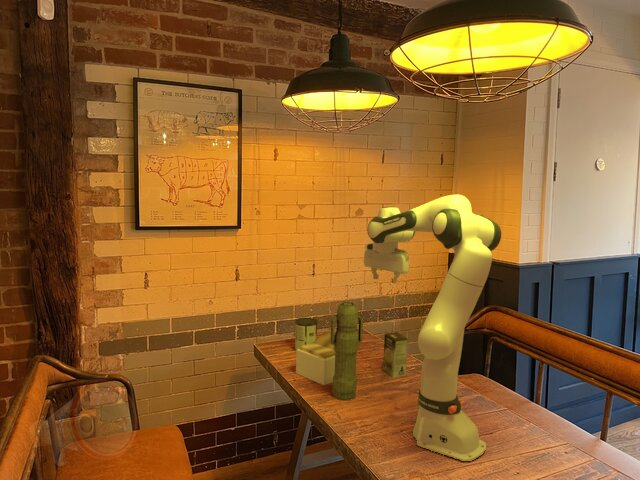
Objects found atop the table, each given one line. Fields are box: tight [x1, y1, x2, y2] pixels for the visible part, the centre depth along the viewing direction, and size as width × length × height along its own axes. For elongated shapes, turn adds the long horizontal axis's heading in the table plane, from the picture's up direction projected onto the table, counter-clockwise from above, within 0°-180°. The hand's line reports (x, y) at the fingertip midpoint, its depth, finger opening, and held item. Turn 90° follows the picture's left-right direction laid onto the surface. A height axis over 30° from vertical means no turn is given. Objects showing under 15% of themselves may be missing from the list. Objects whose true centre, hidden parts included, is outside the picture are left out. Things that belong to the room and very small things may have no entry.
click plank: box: [315, 331, 335, 349], centre depth 203 cm, size 14×7×1 cm, turn 46°
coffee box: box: [382, 331, 409, 379], centre depth 204 cm, size 9×6×16 cm
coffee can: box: [294, 317, 318, 352], centre depth 228 cm, size 10×10×14 cm
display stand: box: [295, 349, 335, 386], centre depth 202 cm, size 16×18×10 cm
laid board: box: [300, 342, 335, 359], centre depth 198 cm, size 14×8×2 cm, turn 46°
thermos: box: [330, 301, 364, 401], centre depth 180 cm, size 9×12×35 cm
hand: (384, 280), depth 197 cm, fingers open, 8 cm apart
